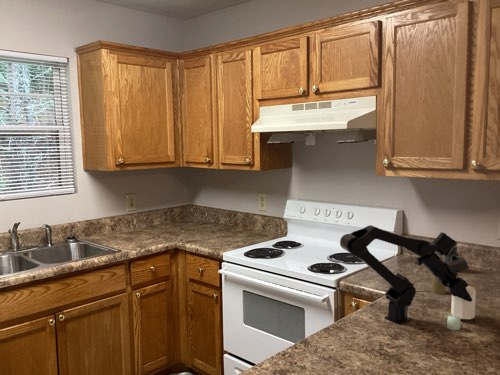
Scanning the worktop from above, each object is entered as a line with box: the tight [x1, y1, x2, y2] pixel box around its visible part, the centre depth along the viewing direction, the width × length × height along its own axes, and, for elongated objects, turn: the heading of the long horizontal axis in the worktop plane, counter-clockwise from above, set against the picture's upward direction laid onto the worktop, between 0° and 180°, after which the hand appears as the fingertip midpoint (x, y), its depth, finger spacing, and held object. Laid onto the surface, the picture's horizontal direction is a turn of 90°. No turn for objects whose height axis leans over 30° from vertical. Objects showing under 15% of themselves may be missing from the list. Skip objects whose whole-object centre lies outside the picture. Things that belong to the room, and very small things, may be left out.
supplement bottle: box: [443, 245, 460, 263], centre depth 216 cm, size 7×7×12 cm
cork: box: [430, 275, 447, 295], centre depth 185 cm, size 6×6×11 cm
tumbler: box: [450, 285, 477, 320], centre depth 157 cm, size 7×7×10 cm
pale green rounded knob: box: [446, 315, 462, 331], centre depth 150 cm, size 4×4×4 cm
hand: (467, 297), depth 157 cm, fingers closed on tumbler, 7 cm apart
